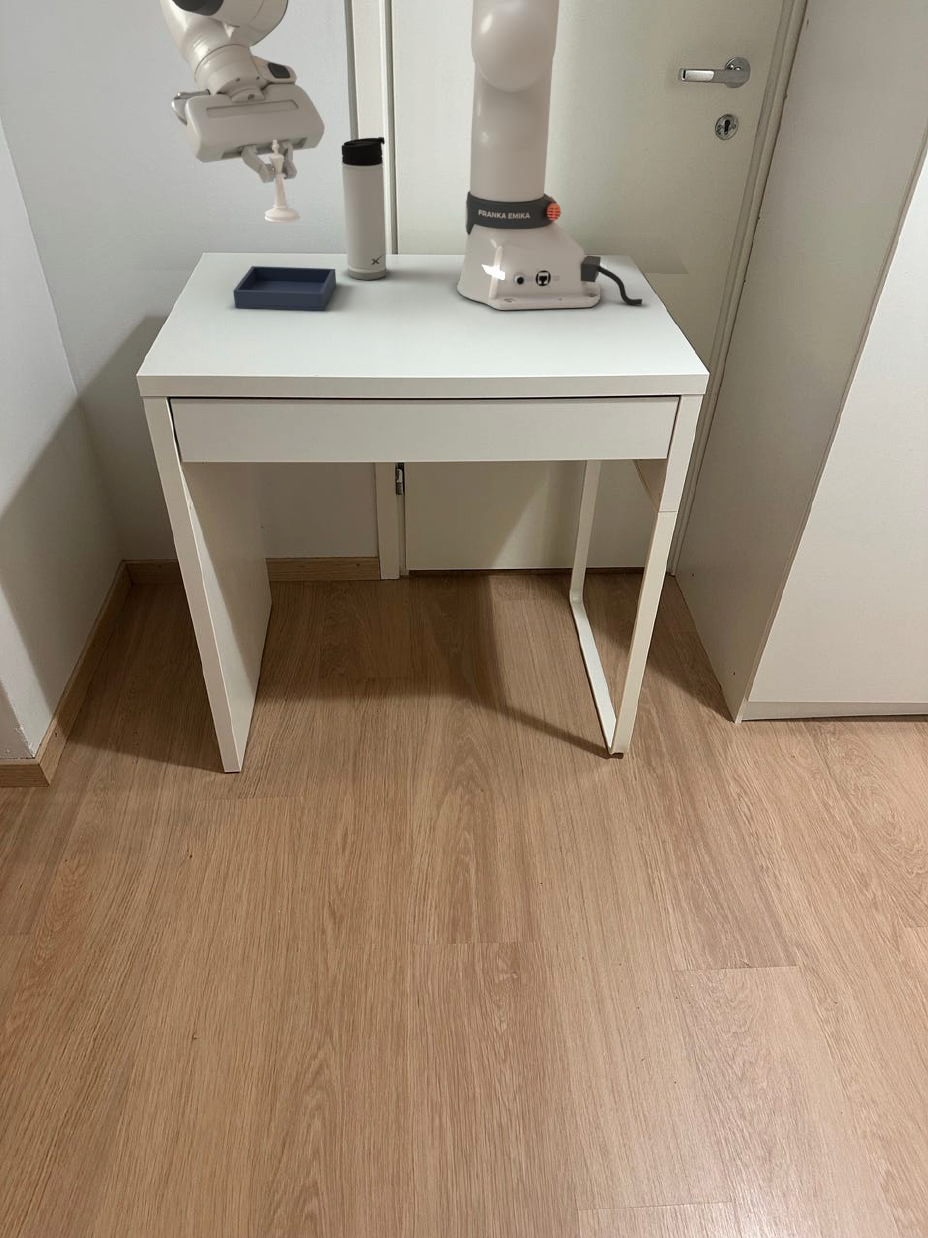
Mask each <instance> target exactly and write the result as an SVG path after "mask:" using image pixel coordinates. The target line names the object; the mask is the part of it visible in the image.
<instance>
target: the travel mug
mask: <svg viewBox="0 0 928 1238" xmlns="http://www.w3.org/2000/svg"><path fill="white" fill-rule="evenodd" d="M385 144H386V141H385V137H384V136H379V137H364V138H363V137H362V138H357V139H352V140H348V141H345V142H344V143H343V144H342V145H341V165H342V168H341V171H342V172H341V173H342V186H343V187H342V188H343V189H342V190H343V205H344V224H345V241H346V242H345V243H346V255H347V256H346V259H347V274H348V276H349V277H351V278H353V279H356V280H360V281H361V280H362V281H373V280H380V279H382V278H384V277H385V276H386V275H387V253H386V251H387V250H386V249H387V247H386V218H385V187H384V186H385V184H384V182H385V181H384V161H383V148H382V145H385Z"/></svg>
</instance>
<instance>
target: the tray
mask: <svg viewBox="0 0 928 1238" xmlns="http://www.w3.org/2000/svg"><path fill="white" fill-rule="evenodd" d="M336 277H337V275H336V268H322V267H321V268H320V267H319V268H318V267H316V268H315V267H290V266H265V265H264V266H262V265H261V266H259V265H252V266H251V267H250V268H249V269H248V271H247V272H246V273H245V275H244V276H243V277H242V278H241V280H239V283H238V284H237V285H236V287H234V289H233V290H232V292H233V300H234V307H235V309H254V310H255V309H257V310H259V309H260V310H282V311H283V310H285V311H286V310H287V311H313V312H315V311H316V312H325V309H326V307H327V306H328V302H329V301H330V299H331V297H332V295H333V293H334V290H335V288H336V287H337V278H336Z"/></svg>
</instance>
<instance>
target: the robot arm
mask: <svg viewBox="0 0 928 1238" xmlns="http://www.w3.org/2000/svg"><path fill="white" fill-rule="evenodd" d="M159 4H160V9H161V13H162V16H163V19H164V21H165V25H166V26H167V29H168V32H169V33H170V36H171V37H172V38H171V39H172V40H173V42H174V45H176V48H177V50H178V52H179V54H180V55H181V57H182V58H183V60H184V61H185V62H186V63H187V64H188V65H189V66H190V69H191V71H192V76H193V79H194V82H195V85H196V86H197V89H198V90H193V91H180V92H177V93H176V95H175V96H174V97H172V100H171V107H172V110H173V112H174V114H175V116H176V118H177V120H179V122H181V126H182V129H183V132H184V134H185V138H186V140H187V143H188V145H189V148H190V150H191V152H192V154H193V156H194V158H195V159H197V160H198V161H199V162H201V163H203V164H205V163H206V164H208V163H214V162H219V161H220V162H221V161H227V160H235V159H242V161H243V162H244V164H245V165H246V166H247V167H249V168H250V169H251V170H252V171H254V172H255V173H256V174H258V176H259V178H260V180H261V182H262V183H263V184H268V183H273V182H275V177H276V173H275V171H274V169H273V167H272V163H265V161H264V160H262V158H260V156H265V155H272V154H274V150H272V146H273V140H277V144H279V148H278V154H281V155H283V156H284V160H283V165H282V170H281V171H282V173H285V175H286V177H284V178H283V180H285V181H286V180H291V179H293V180H294V179H296V176H297V174H298V170H297V168H296V166H295V163H294V161H293V160H294V151H302V150H309V149H316V148H317V147H318V146H319V144H320V142H321V141H322V139H323V137H324V134H325V124H324V123H325V122H324V121H323V119H322V117H321V115H320V113H319V111H318V109H317V108H316V106H315V103H314V101H312V98H311V97H310V95H309V94H308V93H307V92H306V90H304V89H303V88H302V87H301V86H300V85H297V84H296V82H297V79H298V77H297V74H296V72H295V70H294V68H293V67H291V66H289V65H285V64H283V63H282V64H281V63H277V62H274V61H271V60H268V59H264V58H262V57H260V56H259V55H258V56H257V55H253V53H252V51H251V47H253V46H255V45H257V44H259V43H260V42H261V41H262V40H264V39H265V38H266V37H267V36H268V35H269V34H271V33H272V32H273V31H274V30H275V29H276V28H277V27H278V26H279V25H280V23H281V22H282V20H283V19H284V17H285V15H286V13H287V10H288V6H289V0H159ZM559 9H560V0H472V17H471V36H470V49H471V55H472V59H473V62H474V76H473V77H474V78H473V80H474V81H473V99H472V114H471V115H472V117H471V130H470V133H471V134H470V171H469V172H470V173H469V191H468V192H467V195H466V200H465V226H464V227H465V231H466V233H467V235H466V244H465V251H464V258H463V263H462V268H461V272H460V276H459V280H458V283H457V286H456V289H457V292H458V293H459V294H460V295H461V296H463V297H465V298H467V299H470V300H472V301H476V302H479V303H483V304H486V305H488V306H489V307H491V308H494V309H496V310H500V311H511V310H512V311H513V310H542V309H543V310H545V309H573V308H575V309H577V308H591V307H593V306H595V305H597V304H598V303H599V301H600V300H601V289H600V285H599V283H598V281H597V278H598V276H599V274H602V275H604V276H606V277H607V278H610V279H611V280H612V281H613V282H614V283H616V285H617V286H618V289H619V295H620V298H621V299H622V301H623V303H625V304H627V305H629V306H630V305H631V306H634V305H635V306H637V305H642V304H643V298H629V297H628V295H627V292H626V287H625V284H624V282H623V280H622V279H621V278H620V277H619V276H618V275H616V273H614V272H612V271H610V270H608V269H606V268H604V267H603V266H601V259H602V258H601V256H599V255H598V256H597V255H590V254H589V255H588V254H587V255H586V253H585V251H584V249H583V247H582V246H581V245H580V244H579V243H578V242H577V241H576V240H575V239H574V238H573V237H571V236H570V235H569V234H568V233H567V231H565V230H564V229H563V228H562V227H561V226H560V225H558V223H556V222H555V221H557V220H559V218H560V217H561V215H562V210H561V207H560V205H559V204H558V202H557V201H556V200H555V199H554V198H553V196H551V195H550V196H549V195H548V194H546V193H545V183H546V169H547V157H548V156H547V155H548V145H549V130H550V129H549V128H550V111H551V110H550V109H551V108H550V107H551V93H552V79H553V78H552V76H553V63H554V56H555V53H556V46H557V35H558V34H557V33H558V24H559V23H558V22H559Z"/></svg>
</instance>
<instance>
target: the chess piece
mask: <svg viewBox="0 0 928 1238" xmlns="http://www.w3.org/2000/svg"><path fill="white" fill-rule="evenodd" d="M278 148H279V144H277V140H273V146H272V150H274V153H273V154H269V156H268V158H269V161H270V164H271V165H272V167H273V170H274V171H275V173H276V177H275V179H274V189H275V190H274V204H273V205H272V207H273V208H270V209H268V210H266V211H264V219H265V221H268V222H271V223H281V224H282V223H291V222H297V221H298V220H300V218H301V217H300V215H299V214H300V213H299V211H298V210H296V209H294V208H291V207H290V205H289V204H288V201H287V197H286V194H285V188H284V182H283V179H284V177H286V175H285V173H282V171H281V170H282V165H283V162H284V156H283V155H281V154H278Z"/></svg>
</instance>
